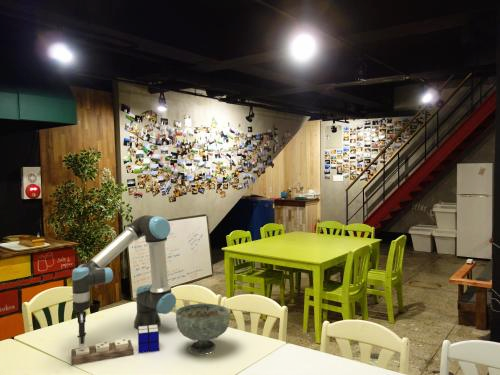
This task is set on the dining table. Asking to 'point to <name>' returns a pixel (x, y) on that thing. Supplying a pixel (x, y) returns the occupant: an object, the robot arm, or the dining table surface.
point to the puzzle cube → (148, 338)
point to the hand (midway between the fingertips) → (82, 349)
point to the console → (101, 354)
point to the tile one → (82, 351)
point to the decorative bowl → (202, 325)
